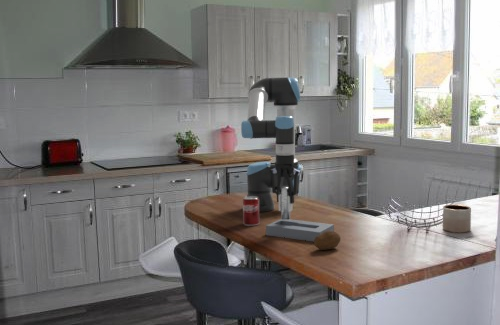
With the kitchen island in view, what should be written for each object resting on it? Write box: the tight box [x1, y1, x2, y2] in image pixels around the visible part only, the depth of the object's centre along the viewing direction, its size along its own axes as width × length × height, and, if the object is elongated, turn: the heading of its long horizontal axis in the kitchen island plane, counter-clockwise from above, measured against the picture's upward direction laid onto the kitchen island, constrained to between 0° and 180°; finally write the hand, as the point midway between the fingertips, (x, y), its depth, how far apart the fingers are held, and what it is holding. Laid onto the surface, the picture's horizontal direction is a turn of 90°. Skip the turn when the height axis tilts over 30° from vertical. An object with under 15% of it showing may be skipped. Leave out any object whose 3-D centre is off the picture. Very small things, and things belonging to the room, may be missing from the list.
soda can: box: [242, 196, 261, 227], centre depth 242 cm, size 7×7×12 cm
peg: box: [280, 187, 291, 220], centre depth 225 cm, size 4×4×13 cm
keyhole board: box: [265, 218, 335, 243], centre depth 223 cm, size 24×14×4 cm, turn 58°
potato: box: [313, 230, 341, 251], centre depth 202 cm, size 7×12×7 cm, turn 127°
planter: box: [442, 204, 472, 234], centre depth 225 cm, size 11×11×10 cm
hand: (285, 210), depth 225 cm, fingers closed on peg, 3 cm apart
